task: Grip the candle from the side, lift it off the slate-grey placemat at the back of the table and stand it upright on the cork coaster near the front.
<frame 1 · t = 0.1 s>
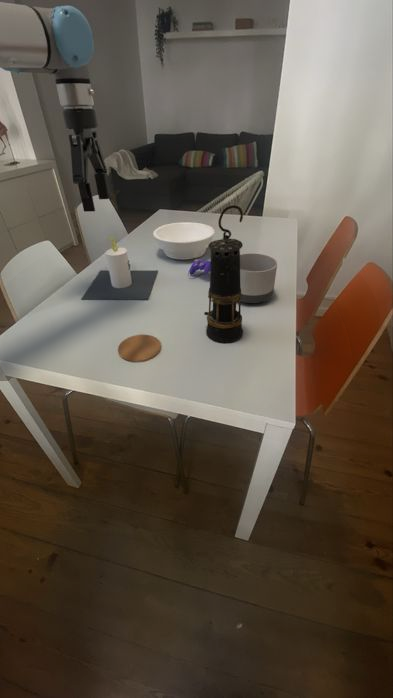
hand: (97, 204, 88), 24 cm above the table, tool pointing down, fingers open, 13 cm apart
game controller: (204, 275, 106), on the table
planter: (250, 296, 94), on the table
placemat: (122, 284, 101), on the table
coaster: (139, 348, 75), on the table
lantern: (224, 333, 79), on the table
bowl: (185, 254, 121), on the table
candle: (122, 284, 101), resting on placemat
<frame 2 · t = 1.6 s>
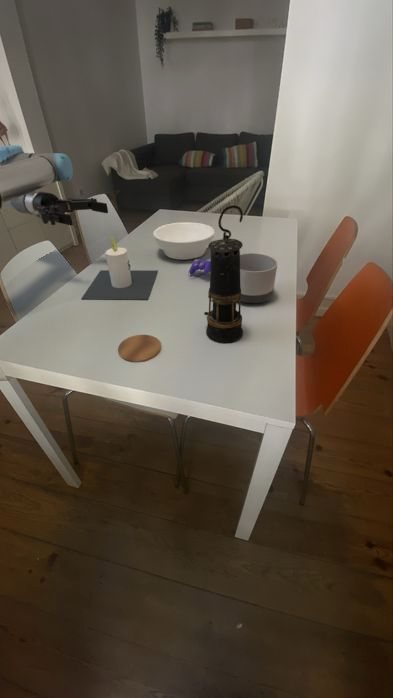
hand: (89, 214, 92), 20 cm above the table, tool horizontal, fingers open, 13 cm apart
nothing on the table moved.
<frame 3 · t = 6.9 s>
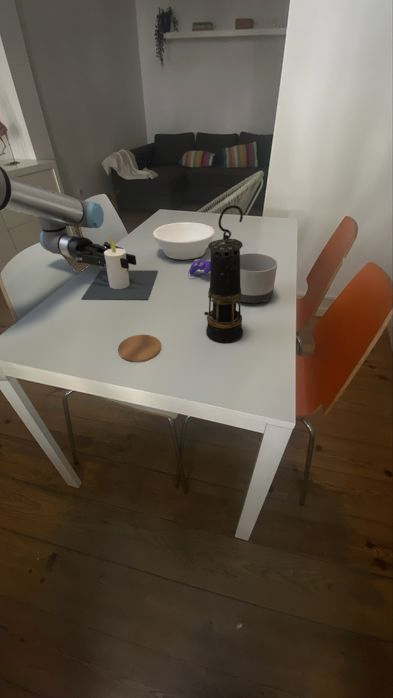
hand: (131, 262, 94), 9 cm above the table, tool horizontal, fingers closed on candle, 2 cm apart
candle: (120, 285, 100), resting on placemat, touching gripper
everything else where it was.
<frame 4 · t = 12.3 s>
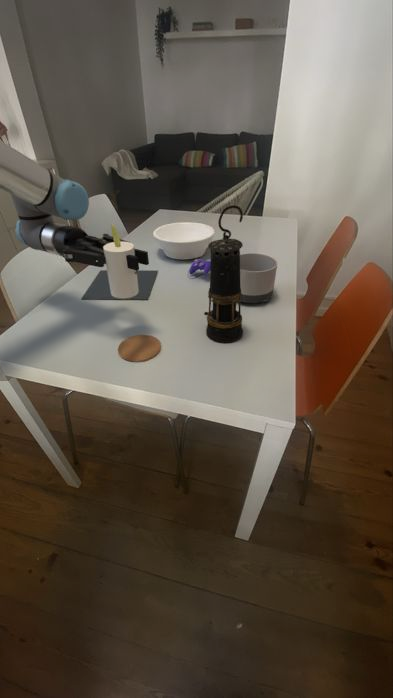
hand: (142, 261, 66), 20 cm above the table, tool horizontal, fingers closed on candle, 2 cm apart
candle: (125, 292, 73), point 11 cm above the table, touching gripper
everything else where it was.
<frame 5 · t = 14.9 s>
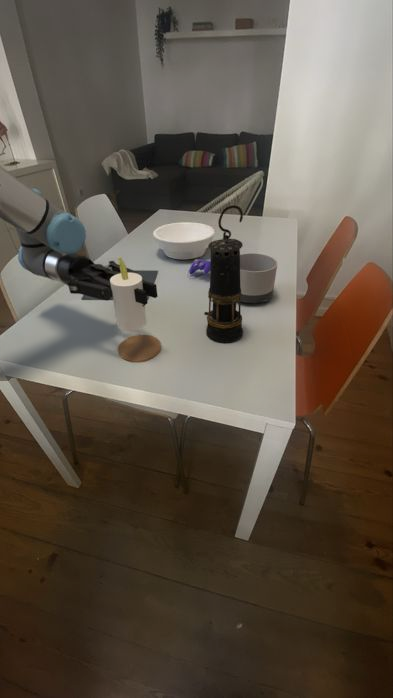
hand: (150, 294, 63), 16 cm above the table, tool horizontal, fingers closed on candle, 2 cm apart
candle: (132, 324, 69), point 7 cm above the table, touching gripper
everything else where it was.
when the fingers open (9 cm above the table, at t = 17.7 s): candle stays where it is, resting on coaster.
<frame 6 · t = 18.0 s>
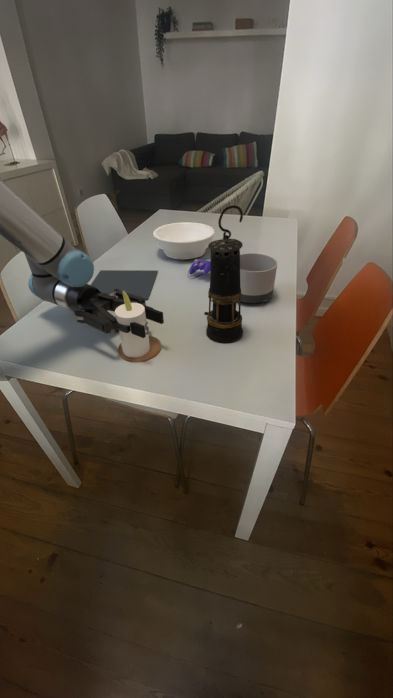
hand: (153, 324, 67), 8 cm above the table, tool horizontal, fingers open, 5 cm apart
candle: (137, 349, 74), resting on coaster
everything else where it was.
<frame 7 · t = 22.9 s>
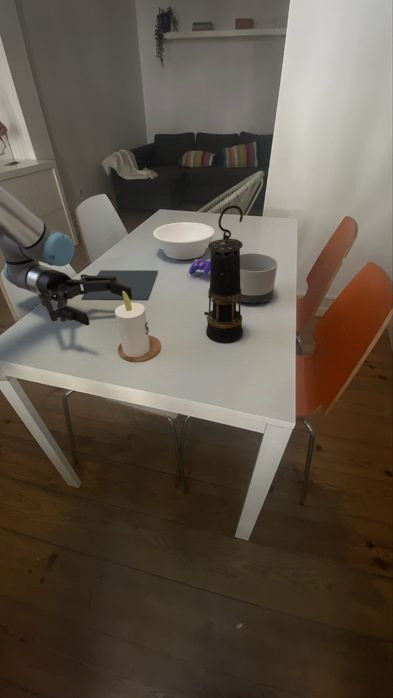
hand: (110, 305, 72), 9 cm above the table, tool horizontal, fingers open, 13 cm apart
nothing on the table moved.
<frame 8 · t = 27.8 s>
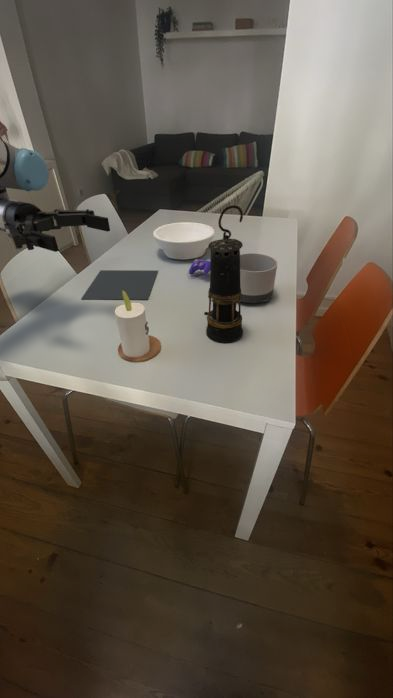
hand: (83, 233, 64), 25 cm above the table, tool horizontal, fingers open, 13 cm apart
nothing on the table moved.
at the end: candle touching coaster; candle 0.9 cm off-centre on the coaster, point 0.3 cm above the coaster's base; candle tilted 0° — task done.
